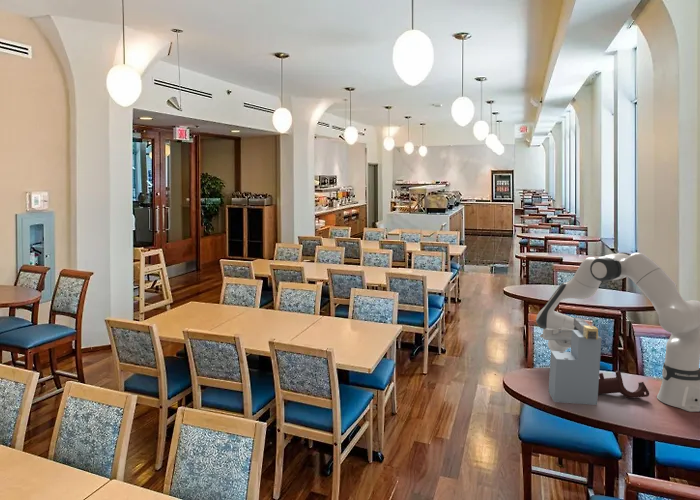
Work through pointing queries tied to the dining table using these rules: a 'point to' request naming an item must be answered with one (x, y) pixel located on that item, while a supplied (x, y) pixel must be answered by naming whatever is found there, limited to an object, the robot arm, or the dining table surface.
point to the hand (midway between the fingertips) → (571, 330)
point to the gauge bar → (586, 329)
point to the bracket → (619, 387)
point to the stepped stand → (576, 371)
